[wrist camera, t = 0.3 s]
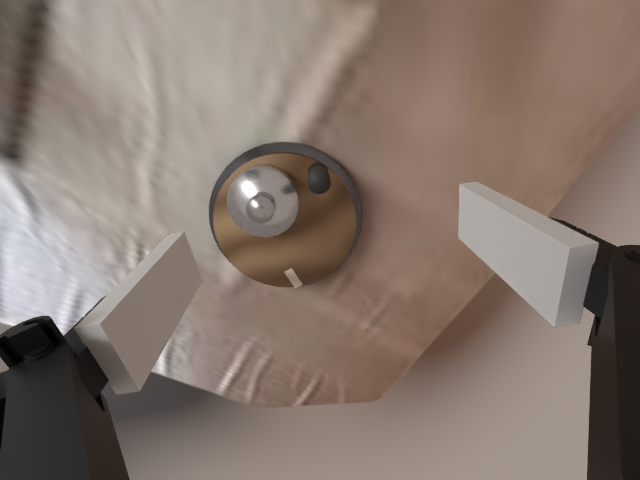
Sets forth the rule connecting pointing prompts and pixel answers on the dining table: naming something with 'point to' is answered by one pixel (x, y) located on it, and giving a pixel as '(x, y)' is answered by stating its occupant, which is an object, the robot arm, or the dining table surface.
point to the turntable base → (293, 149)
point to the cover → (263, 200)
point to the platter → (292, 227)
